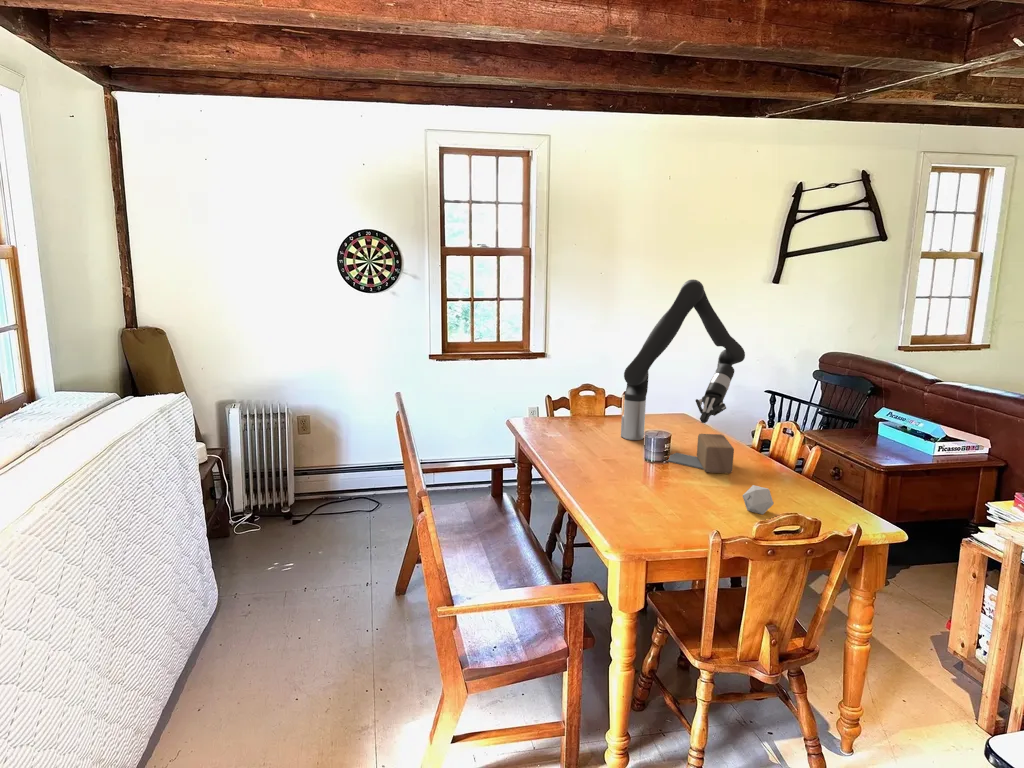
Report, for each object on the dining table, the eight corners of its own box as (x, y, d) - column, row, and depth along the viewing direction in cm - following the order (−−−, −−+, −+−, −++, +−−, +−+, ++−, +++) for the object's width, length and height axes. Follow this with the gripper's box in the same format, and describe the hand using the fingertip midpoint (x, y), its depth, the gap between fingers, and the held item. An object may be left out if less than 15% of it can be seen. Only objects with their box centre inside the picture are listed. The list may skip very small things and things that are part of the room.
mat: (661, 460, 266) (661, 458, 266) (676, 453, 275) (676, 452, 275) (709, 471, 253) (710, 469, 253) (723, 464, 262) (723, 462, 262)
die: (741, 506, 219) (735, 488, 213) (765, 494, 218) (759, 475, 213) (756, 524, 212) (750, 505, 206) (780, 511, 212) (775, 492, 206)
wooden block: (723, 433, 266) (734, 447, 246) (722, 458, 267) (732, 474, 248) (697, 432, 267) (706, 446, 247) (696, 457, 268) (704, 472, 249)
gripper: (700, 379, 275) (684, 413, 268) (731, 383, 267) (716, 419, 260) (705, 390, 280) (689, 424, 273) (736, 395, 272) (721, 430, 265)
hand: (702, 421), depth 267 cm, fingers closed
